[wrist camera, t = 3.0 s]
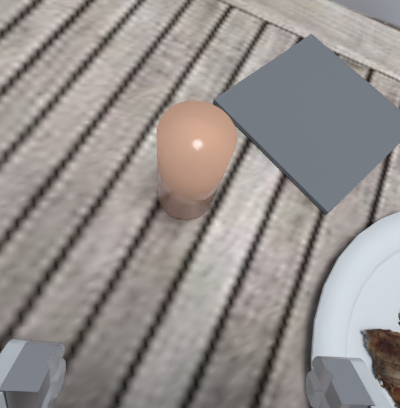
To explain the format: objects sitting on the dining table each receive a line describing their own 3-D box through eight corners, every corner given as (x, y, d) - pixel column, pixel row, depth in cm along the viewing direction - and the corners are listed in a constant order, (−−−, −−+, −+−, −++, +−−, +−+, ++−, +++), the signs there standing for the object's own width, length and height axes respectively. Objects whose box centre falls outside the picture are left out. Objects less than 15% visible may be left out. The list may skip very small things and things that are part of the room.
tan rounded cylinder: (147, 190, 28) (140, 127, 19) (188, 160, 30) (200, 88, 20) (182, 231, 27) (193, 185, 18) (223, 198, 29) (253, 140, 19)
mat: (213, 102, 32) (214, 99, 32) (309, 38, 37) (311, 34, 37) (325, 214, 29) (328, 212, 29) (413, 128, 34) (417, 125, 34)
